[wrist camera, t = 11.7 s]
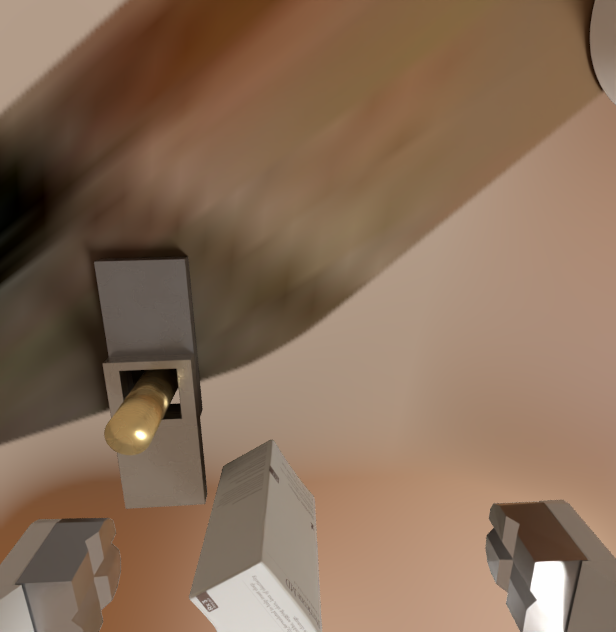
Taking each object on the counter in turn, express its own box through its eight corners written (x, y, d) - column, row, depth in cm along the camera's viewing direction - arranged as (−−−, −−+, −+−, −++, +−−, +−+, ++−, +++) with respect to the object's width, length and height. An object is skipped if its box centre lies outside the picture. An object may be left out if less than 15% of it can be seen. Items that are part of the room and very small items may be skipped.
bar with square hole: (188, 256, 37) (181, 262, 34) (209, 483, 43) (205, 504, 40) (100, 258, 36) (86, 264, 34) (135, 488, 42) (125, 508, 40)
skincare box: (315, 495, 44) (333, 644, 30) (263, 524, 45) (257, 683, 30) (269, 433, 42) (265, 562, 28) (215, 464, 42) (184, 606, 28)
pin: (177, 363, 39) (148, 413, 31) (180, 396, 40) (154, 454, 31) (140, 364, 39) (101, 415, 30) (144, 397, 40) (107, 456, 31)
